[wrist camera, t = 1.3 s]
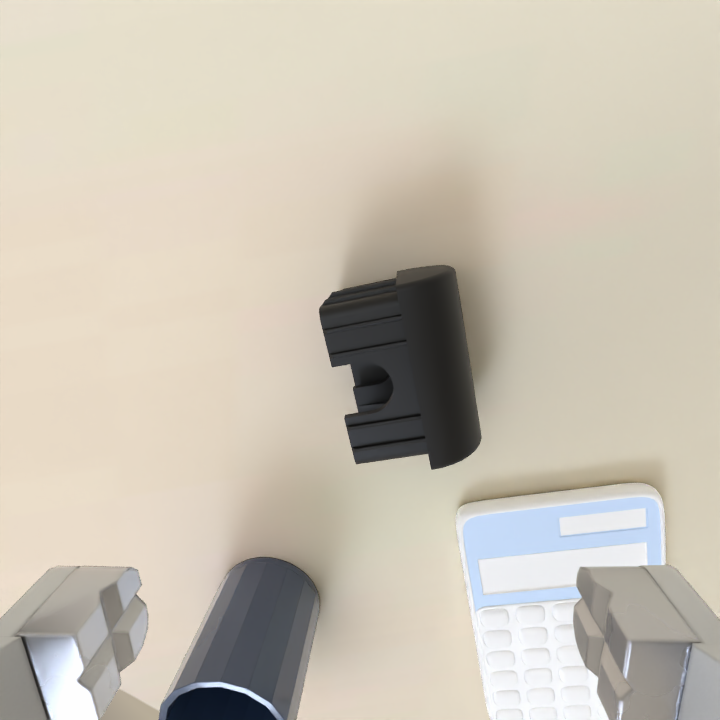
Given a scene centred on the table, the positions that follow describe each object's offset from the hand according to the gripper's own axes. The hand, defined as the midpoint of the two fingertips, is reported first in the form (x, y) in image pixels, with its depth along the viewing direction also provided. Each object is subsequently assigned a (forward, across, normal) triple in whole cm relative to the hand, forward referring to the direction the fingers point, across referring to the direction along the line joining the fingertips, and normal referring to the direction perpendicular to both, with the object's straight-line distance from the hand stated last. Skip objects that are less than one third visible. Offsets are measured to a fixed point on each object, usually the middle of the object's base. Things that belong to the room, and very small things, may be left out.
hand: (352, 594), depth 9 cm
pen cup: (+22, +9, +21) cm, 32 cm away
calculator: (+22, -13, +21) cm, 33 cm away
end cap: (+22, -2, +1) cm, 22 cm away
